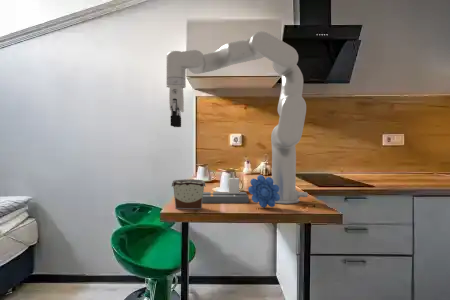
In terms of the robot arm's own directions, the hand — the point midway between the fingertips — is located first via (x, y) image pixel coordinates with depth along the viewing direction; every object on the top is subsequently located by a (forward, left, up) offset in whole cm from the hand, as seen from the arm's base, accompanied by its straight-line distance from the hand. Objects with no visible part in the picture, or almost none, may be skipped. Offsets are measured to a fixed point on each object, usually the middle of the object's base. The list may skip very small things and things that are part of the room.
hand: (176, 126), depth 141 cm
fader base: (-19, -3, -30) cm, 36 cm away
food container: (-6, +12, -30) cm, 33 cm away
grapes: (-33, +14, -30) cm, 47 cm away
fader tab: (-23, -3, -28) cm, 37 cm away
